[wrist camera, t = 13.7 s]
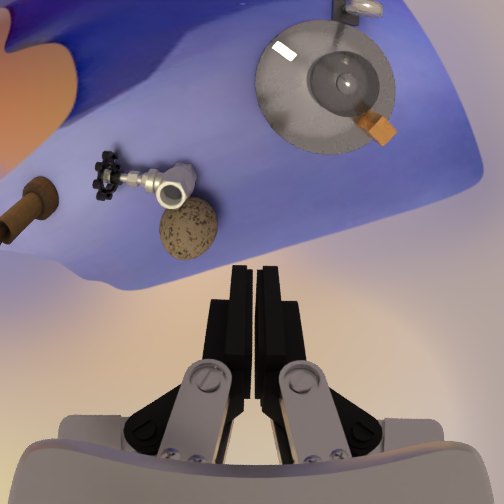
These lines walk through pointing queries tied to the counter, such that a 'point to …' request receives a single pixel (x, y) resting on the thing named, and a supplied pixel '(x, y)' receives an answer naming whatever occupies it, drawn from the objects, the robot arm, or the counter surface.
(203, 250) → the decorative egg
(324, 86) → the cover
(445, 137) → the counter surface
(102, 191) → the valve
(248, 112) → the counter surface
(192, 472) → the robot arm
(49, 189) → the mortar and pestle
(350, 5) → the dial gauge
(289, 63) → the turntable
